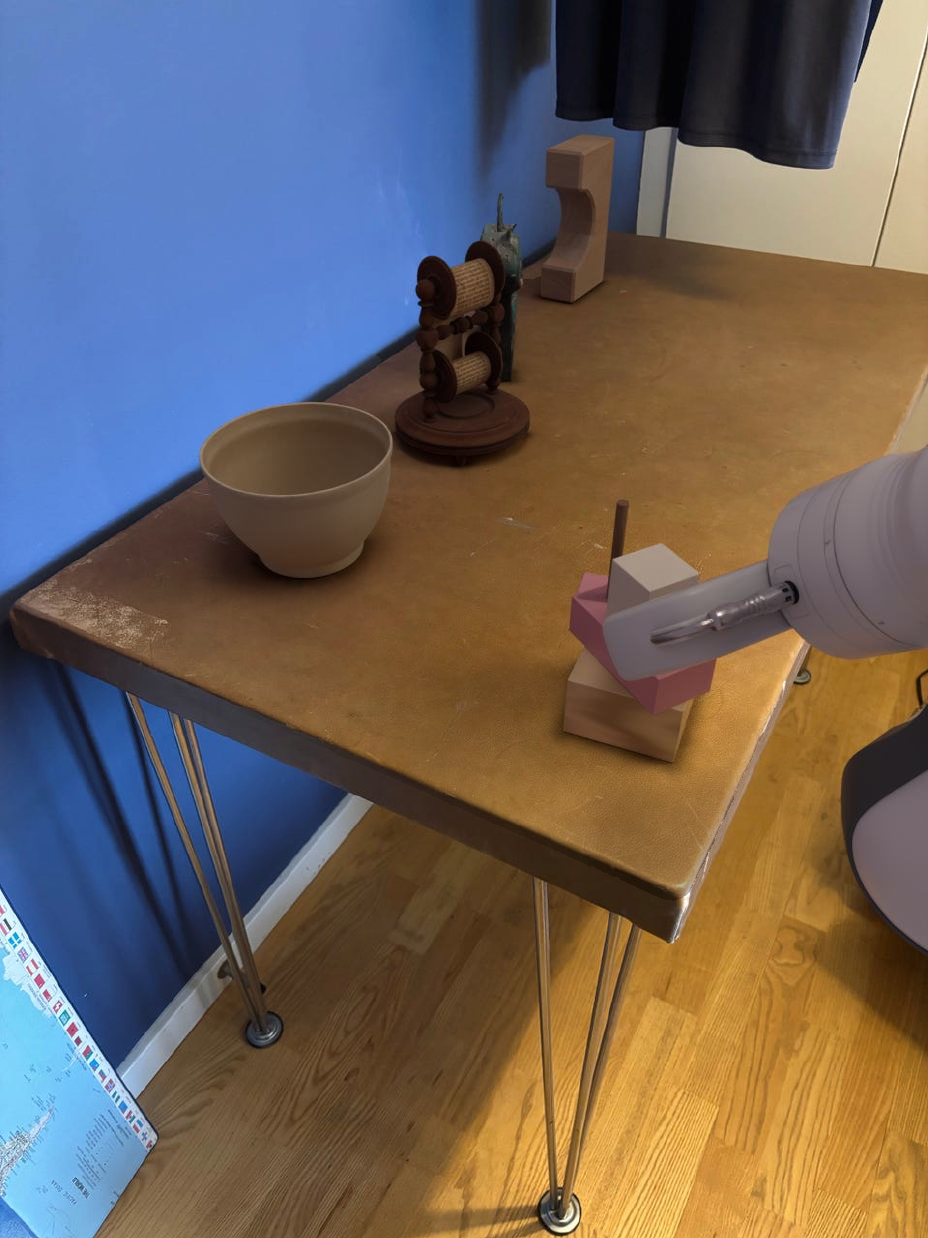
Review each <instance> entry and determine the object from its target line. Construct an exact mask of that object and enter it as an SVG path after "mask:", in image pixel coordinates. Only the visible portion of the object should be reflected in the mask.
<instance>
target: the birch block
mask: <svg viewBox="0 0 928 1238" xmlns="http://www.w3.org/2000/svg"><path fill="white" fill-rule="evenodd" d="M569 674H570V675H569V676H568V678H567V680H566V691H565V692H566V693H565V703H564V704H565V705H564V716H563V727H562V728H563V729H562V731H563V732H565V733H569V734H571V735H576V736H579V737H583V738H586V739H589V740H593V741H596V742H600V743H603V744H606V745H610V746H614V747H618V748H620V749H623V750H627V751H630V752H634V753H638V754H641V755H644V756H648V757H651V758H654V759H658V760H662V761H665V762H667V763H668V762H669V763H674V762H675V760H676V756H677V753H678V750H679V747H680V744H681V740H682V737H683V734H684V732H685V729H686V725H687V723H688V720H689V716H690V713H691V711H692V708H693V704H694V701H695V698H693V699H691V700H688V701H686V702H683V703H681V704H679V705H676V706H674V707H671V708H669V709H667V710H664V711H662V712H660V713H657V714H655V715H652V714H651V713H650V712H649V711H648V710H647V709H646V708H645V707H644V706H643V705H642V704H641V703H640V702H639V701H638V700H637V699H636V698H635V697H634V696H633V695H632V694H631V693H630V692H629V691H628V690H627V689H626V688H625V687H624V686H623V685H622V684H621V683H620V682H619V681H618V680H617V679H616V678H615V677H614V676H613V675H612V673H611V672H610V671H609V670H608V669H607V668H606V667H605V666H604V665H603V664H602V663H601V662H600V661H599V660H598V659H597V658H596V657H595V656H594V655H593V654H592V653H591V652H590V651H589V650H588V649H587V648H586V647H585V646H584V645H583V647H582V649H581V652H580V654H579V655H578V658H577V660H576V662H575V663H574V666H573V668H572V669H571V672H570V673H569Z"/></svg>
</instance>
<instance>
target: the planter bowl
mask: <svg viewBox="0 0 928 1238" xmlns="http://www.w3.org/2000/svg"><path fill="white" fill-rule="evenodd" d="M393 448H394V447H393V436H392V433H391V431H390V429H389V428H388V427H387V425H386V424H385V423H384V422H383V421H381V420H380V418H378V417H376V416H375V415H373V414H371V413H369V412H367V411H365V410H362V409H359V408H356V407H352V406H348V405H343V404H339V403H333V402H332V403H331V402H318V401H302V402H289V403H284V404H276V405H271V406H265V407H262V408H257V409H256V410H252V411H249V412H246V413H243V414H241V415H238V416H236V417H234V418H233V419H230V420H229V421H227V422H226V423H224V424H222V425H221V426H218V428H216V429H215V430H213V431H212V432H211V433H210V434H209V435H208V436H207V438H205V440H204V442H203V443H202V445H201V447H200V450H199V452H198V461H199V466H200V470H201V472H202V474H203V476H204V478H205V480H206V482H207V485H208V490H209V492H210V495H211V497H212V500H213V502H214V505H215V507H216V509H217V511H218V513H219V514H220V517H221V518H222V519H223V521H224V522H225V524H226V525H227V526H228V528H229V529H230V531H232V532H233V534H234V535H235V536H236V537H237V538H238V539H239V540H240V541H241V542H242V543H243V544H244V545H245V546H246V547H248V549H250V550H251V551H252V552H254V553H255V554H257V555H258V557H259V559H260V561H261V563H262V564H263V565H264V566H265V567H266V568H267V569H269V570H270V571H272V572H273V573H275V574H278V575H281V576H285V577H289V578H295V579H314V578H320V577H325V576H328V575H329V576H330V575H332V574H335V573H338V572H340V571H342V570H344V569H346V568H347V567H349V566H350V565H352V564H353V563H355V561H356V560H357V559H358V558H359V556H361V554H362V551H363V549H364V544H365V541H366V540H367V538H368V537H369V536H370V534H371V533H372V531H373V530H374V528H375V526H376V524H378V521H379V519H380V517H381V514H382V512H383V509H384V507H385V504H386V501H387V497H388V493H389V487H390V482H391V481H390V480H391V467H392V466H391V465H392V464H391V463H392V462H391V460H392V455H393Z"/></svg>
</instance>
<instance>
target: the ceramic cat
mask: <svg viewBox="0 0 928 1238" xmlns="http://www.w3.org/2000/svg"><path fill="white" fill-rule="evenodd" d="M504 196H505V194H504V192H502V193H501V192H500V193H498V199H497V203H496V204H497V205H496V213H497V216H496V223H489V222H487V223H485V224H484V226H483V228H482V231H481V235H480V237H479V240H478V241H480V240H482V241H487V242H489V243H490V244H492V245H493V246H494V247H495V248H496V249H497V251H498V252H499V254H500V256H501V258H502V260H503V263H504V267H505V283H504V287H503V289H502V291H501V299H500V301H499V302H498V303H500V304H501V305H502V306H503V308H504V312H505V313H504V317H503V319H502V321H501V322H500V323H501V324H500V326H498V331H499V334H500V342H499V344H498V347H499V348H500V349H501V351H502V361H503V368H502V373H501V376H500V380H501V382H511V381H512V379H513V367H514V356H515V342H516V341H515V340H516V322H517V304H518V291H520V290H521V289H523V287H524V282H523V276H524V274H523V273H524V272H523V263H522V261H523V260H522V249H521V248H522V247H521V237H520V236H519V235H518V234H517V233H513V232H514V229H516V228H517V224H518V222H515V223H513V224H511V225H510V224H509V223H504V222H503V221H504V219H503V210H502V205H503V204H502V202H503V199H504ZM474 242H475V241H473V242H472V244H473V243H474ZM483 309H484V307H481V308H479V309H476V310H473V311H474V313H476V312H478V311H483ZM486 323H487V322H486ZM486 323H485V324H484V325H481V326H477V328H478V330H477V331H481V332H484V333H487V334H488V330H489V326H487V324H486Z"/></svg>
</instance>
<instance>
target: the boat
mask: <svg viewBox="0 0 928 1238" xmlns="http://www.w3.org/2000/svg"><path fill="white" fill-rule="evenodd" d="M629 508H630V501H628V500H627V499H618V500H617V501H616V505H615V513H614V514H615V515H614V522H613V530H612V531H613V532H612V542H611V551H610V558H609V568H608V575H604V574H599V573H592V572H586V571H584V572H583V574H582V577H581V580H580V583H579V585H578V589H577V591H576V594H573V595H572V596H571V605H570V616H569V626H568V631H569V632H570V633H571V634H572V635H573V636H574V637H575V638H576V639H577V640H578V641H579V642H580V643H581V644H582V645H583V647H584V646H585V647H586V648H587V649H588V650H589V651H590V652H591V653H592V654H593V655H594V656H595V657H596V658H597V659H598V660H599V661H600V662H601V663H602V664H603V665H604V666H605V667H606V668H607V669H608V670H609V671H610V672H611V673H612V675H613V676H614V677H615V678H616V679H617V680H618V681H619V682H620V683H621V684H622V685H623V686H624V687H625V688H626V689H627V690H628V691H629V692H630V693H631V694H632V695H633V696H634V697H635V698H636V699H637V700H638V701H639V702H640V703H641V704H642V705H643V706H644V707H645V708H646V709H647V710H648V711H649V712H650V713H651V714H652V715H655V714H657V713H660V712H662V711H664V710H667V709H669V708H671V707H674V706H676V705H679V704H681V703H683V702H686V701H688V700H691V699H693V698H694V699H695V698H697V697H700V696H702V695H705V694H707V693H709V692H711V689H712V683H713V678H714V674H715V669H716V665H717V660H718V658H717V659H714V660H711V661H708V662H705V663H702V664H699V665H695V666H691V667H687V668H684V669H680V670H676V671H672V672H668V673H664V674H660V675H656V676H652V677H647V678H643V679H639V680H633V681H626V680H624V679H622V678H621V677H620V676H619V674H618V672H617V671H616V669H615V667H614V664H613V662H612V660H611V657H610V655H609V652H608V649H607V646H606V643H605V640H604V636H603V631H602V624H603V621H604V620H605V619H606V618H607V617H608V616H610V615H612V614H614V613H617V612H619V611H622V610H625V609H628V608H630V607H633V606H636V605H639V604H642V603H644V602H647V601H650V600H653V599H656V598H658V597H661V596H664V595H667V594H670V593H672V592H675V591H678V590H681V589H683V588H686V587H689V586H692V585H695V584H697V583H699V580H700V577H701V576H700V575H701V573H700V572H699V571H698V570H696V569H695V568H694V567H693V566H691V565H690V564H689V563H687V562H686V561H685V560H683V558H681V557H680V556H679V555H677V554H676V553H675V552H674V551H672V550H671V548H669V547H667V546H666V545H665V544H663V543H662V542H659V543H656V544H654V545H651V546H647V547H645V548H641V549H638V550H636V551H633V552H630V553H627V554H624V549H625V542H626V541H625V539H626V531H627V524H628V515H629Z"/></svg>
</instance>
